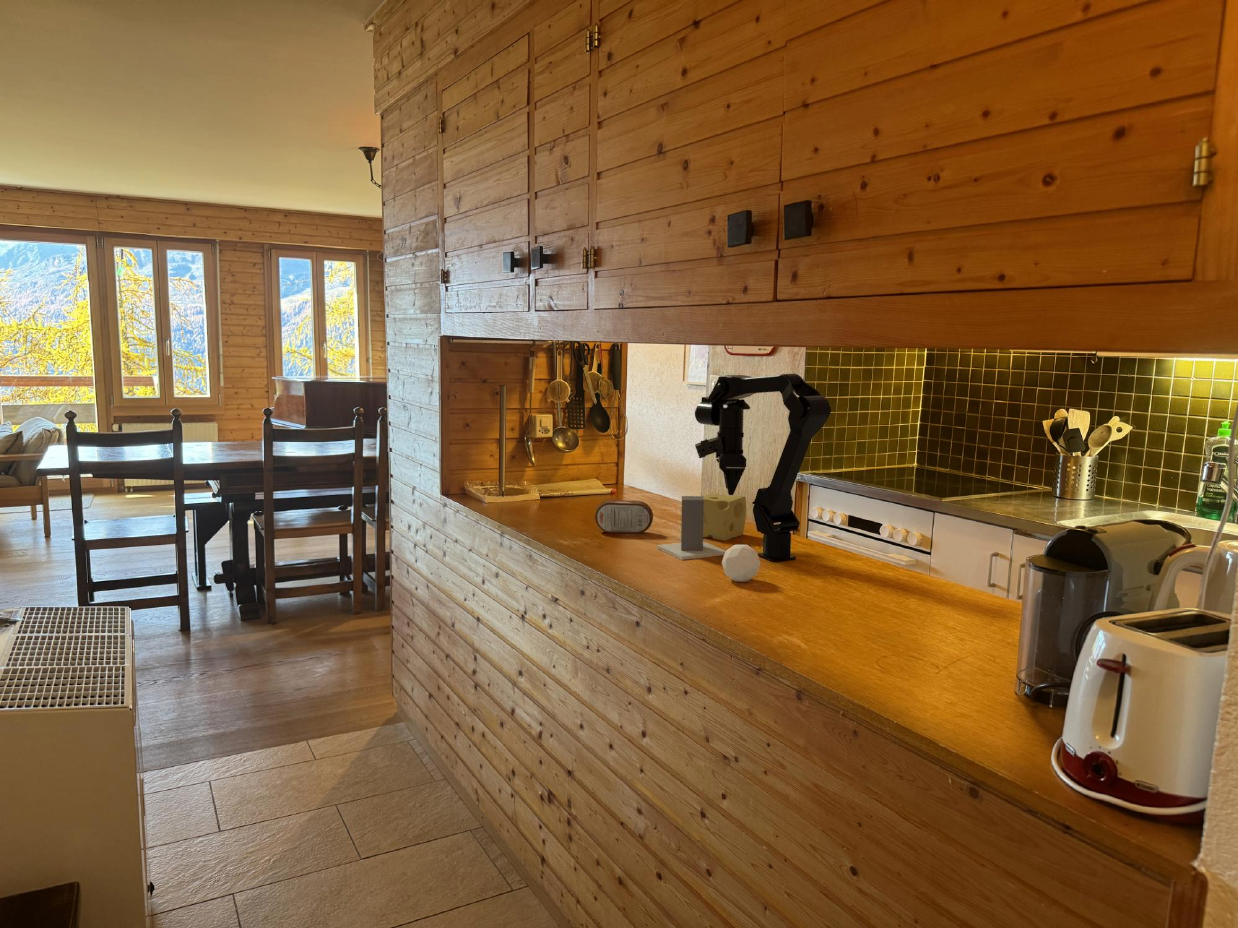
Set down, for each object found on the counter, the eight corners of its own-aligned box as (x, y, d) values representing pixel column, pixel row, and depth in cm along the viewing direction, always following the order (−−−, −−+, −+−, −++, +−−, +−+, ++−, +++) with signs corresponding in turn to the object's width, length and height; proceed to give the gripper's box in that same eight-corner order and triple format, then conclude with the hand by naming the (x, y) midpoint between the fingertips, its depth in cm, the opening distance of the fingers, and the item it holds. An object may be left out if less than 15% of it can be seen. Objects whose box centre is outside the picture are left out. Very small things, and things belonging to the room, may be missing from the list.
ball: (735, 595, 179) (716, 568, 176) (732, 572, 186) (714, 546, 183) (768, 580, 177) (750, 552, 174) (764, 557, 184) (746, 530, 181)
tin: (653, 532, 226) (653, 500, 225) (652, 534, 223) (652, 502, 222) (595, 530, 228) (595, 498, 226) (594, 533, 224) (594, 501, 223)
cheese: (725, 541, 216) (726, 502, 214) (689, 535, 222) (689, 497, 221) (746, 534, 224) (747, 496, 223) (710, 528, 230) (711, 491, 229)
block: (702, 545, 207) (702, 496, 206) (702, 550, 202) (703, 500, 201) (681, 545, 208) (681, 496, 206) (681, 550, 203) (682, 499, 201)
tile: (726, 554, 202) (726, 551, 202) (681, 559, 197) (681, 556, 197) (700, 543, 213) (700, 540, 213) (657, 548, 208) (657, 545, 208)
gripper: (696, 423, 219) (695, 484, 221) (698, 431, 200) (697, 498, 202) (740, 424, 218) (739, 485, 220) (747, 431, 199) (745, 498, 202)
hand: (729, 491), depth 211 cm, fingers open, 9 cm apart
